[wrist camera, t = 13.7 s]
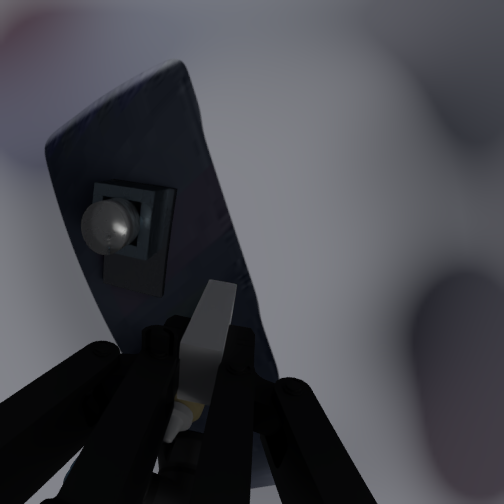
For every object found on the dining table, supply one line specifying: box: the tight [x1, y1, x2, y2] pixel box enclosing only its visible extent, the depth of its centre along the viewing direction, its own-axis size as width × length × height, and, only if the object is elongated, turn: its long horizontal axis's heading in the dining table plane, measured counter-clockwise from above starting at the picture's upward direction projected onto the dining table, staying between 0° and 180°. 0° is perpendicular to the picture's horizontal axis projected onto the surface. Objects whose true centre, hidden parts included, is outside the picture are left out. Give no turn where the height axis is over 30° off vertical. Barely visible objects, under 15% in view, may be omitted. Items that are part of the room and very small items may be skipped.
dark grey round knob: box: [81, 198, 142, 255], centre depth 35 cm, size 6×6×10 cm
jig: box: [92, 179, 177, 298], centre depth 39 cm, size 16×10×7 cm, turn 169°
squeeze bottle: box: [163, 393, 205, 443], centre depth 39 cm, size 8×8×18 cm
